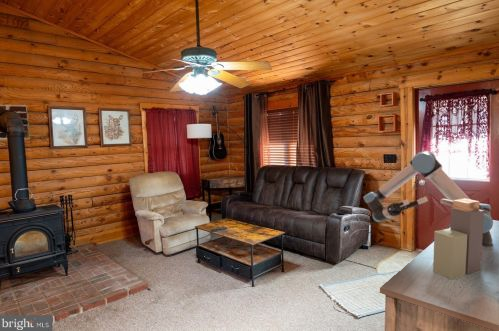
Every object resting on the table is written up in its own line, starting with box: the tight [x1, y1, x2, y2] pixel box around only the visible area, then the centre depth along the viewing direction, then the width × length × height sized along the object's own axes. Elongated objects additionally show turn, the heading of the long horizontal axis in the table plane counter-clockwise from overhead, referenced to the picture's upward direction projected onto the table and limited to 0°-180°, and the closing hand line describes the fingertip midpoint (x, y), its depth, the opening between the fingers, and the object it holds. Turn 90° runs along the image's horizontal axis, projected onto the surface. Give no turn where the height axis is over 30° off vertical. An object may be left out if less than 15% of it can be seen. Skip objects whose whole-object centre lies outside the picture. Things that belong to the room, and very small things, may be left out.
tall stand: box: [449, 207, 484, 276], centre depth 154 cm, size 9×10×30 cm
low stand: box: [432, 228, 467, 280], centre depth 151 cm, size 9×10×20 cm
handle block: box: [439, 198, 480, 212], centre depth 157 cm, size 8×16×4 cm, turn 20°
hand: (417, 200), depth 178 cm, fingers open, 13 cm apart
